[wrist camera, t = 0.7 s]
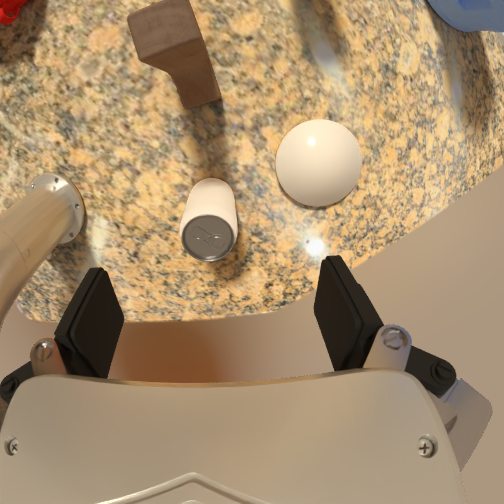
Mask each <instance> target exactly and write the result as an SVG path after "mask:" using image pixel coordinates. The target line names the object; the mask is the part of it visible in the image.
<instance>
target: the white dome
mask: <svg viewBox="0 0 504 504" xmlns="http://www.w3.org/2000/svg"><path fill="white" fill-rule="evenodd" d="M361 168H362V154H361V150H360V147H359V144H358V142H357V140H356V139H355V137H354V136H353V134H352V133H351V132H350V131H349V130H348V129H346V128H345V127H344V126H342V125H340V124H338V123H336V122H333V121H330V120H325V119H312V120H308V121H304V122H302V123H300V124H298V125H296V126H294V127H293V128H292V129H291V130H289V131H288V132H287V133H286V135H285V136H284V137H283V139H282V140H281V142H280V144H279V146H278V149H277V152H276V156H275V170H276V175H277V178H278V180H279V182H280V184H281V186H282V187H283V189H284V190H285V192H286V193H287V194H288V195H289V196H290V197H291V198H293V199H294V200H296V201H297V202H299V203H302V204H304V205H308V206H315V207H320V206H327V205H330V204H333V203H336V202H338V201H339V200H341V199H343V198H344V197H345V196H346V195H348V194H349V192H350V191H351V190H352V189H353V188H354V186H355V185H356V183H357V181H358V179H359V176H360V173H361Z"/></svg>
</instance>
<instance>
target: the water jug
mask: <svg viewBox="0 0 504 504" xmlns="http://www.w3.org/2000/svg"><path fill="white" fill-rule="evenodd" d="M427 1H428V2H429V4H430V5H431V6H432V8H433V9H434V10H435V12H436V13H437V14H438V15H439V16H440V17H441V18H442V19H443V20H444V21H445V22H447V23H448V24H449V25H450V26H452V27H454V28H455V29H457V30H460V31H463V32H474V31H494V32H504V0H427Z"/></svg>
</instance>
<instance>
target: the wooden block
mask: <svg viewBox="0 0 504 504" xmlns="http://www.w3.org/2000/svg"><path fill="white" fill-rule="evenodd" d="M127 21H128V25H129V28H130V32H131V35H132V38H133V41H134V45H135V48H136V51H137V54H138V58H139V60H140V61H141V62H143V63H146V64H148V65H151V66H153V67H156V68H158V69H160V70H163V71H165V72H167V73H168V74H169V75H170V76H171V77H172V79H173V81H174V83H175V85H176V87H177V90H178V92H179V95H180V98H181V101H182V103H183V106H184V108H185V109H190V108H194V107H197V106H199V105H203V104H206V103H209V102H212V101H215V100H218V99H220V98H221V93H220V89H219V86H218V83H217V80H216V77H215V74H214V71H213V67H212V64H211V61H210V58H209V55H208V52H207V49H206V46H205V43H204V40H203V37H202V34H201V32H200V29H199V26H198V23H197V21H196V18H195V15H194V12H193V10H192V7H191V4H190V2H189V0H163V1H160V2H158V3H155V4H152V5H150V6H147V7H145V8H143V9H140V10H138V11H136V12H134V13H131V14H130V15H128V18H127Z"/></svg>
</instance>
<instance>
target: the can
mask: <svg viewBox="0 0 504 504" xmlns="http://www.w3.org/2000/svg"><path fill="white" fill-rule="evenodd" d="M237 233H238V227H237V217H236V207H235V199H234V194H233V191H232V189H231V187H230V186H229V185H228V184H227V183H226V182H224V181H222V180H220V179H217V178H207V179H203V180H201V181H199V182H198V183H197V184H195V186H194V187H193V188H192V190H191V192H190V195H189V198H188V201H187V204H186V207H185V210H184V213H183V216H182V220H181V224H180V237H181V240H182V244H183V247H184V249H185V250H186V252H187V253H188V254H189V255H191V256H192V257H193V258H195V259H198V260H201V261H207V262H210V261H216V260H219V259H221V258H223V257H225V256H226V255H227V254H228V253H229V252H230V251H231V249H232V248H233V245H234V243H235V241H236V238H237Z"/></svg>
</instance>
